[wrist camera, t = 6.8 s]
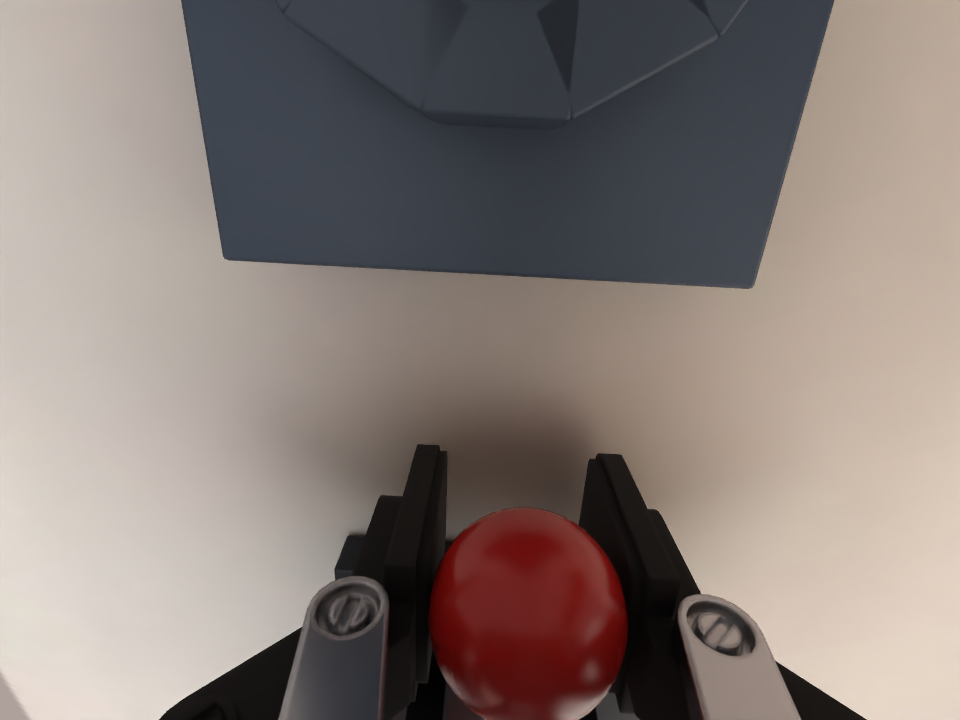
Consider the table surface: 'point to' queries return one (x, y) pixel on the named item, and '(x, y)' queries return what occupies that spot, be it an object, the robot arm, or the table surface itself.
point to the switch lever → (527, 617)
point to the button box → (504, 132)
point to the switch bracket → (437, 707)
